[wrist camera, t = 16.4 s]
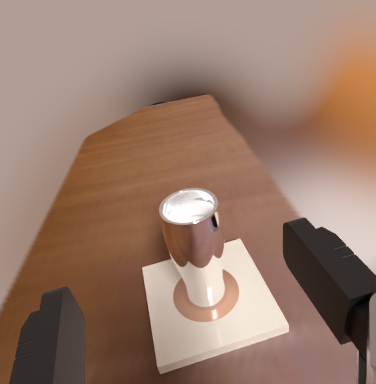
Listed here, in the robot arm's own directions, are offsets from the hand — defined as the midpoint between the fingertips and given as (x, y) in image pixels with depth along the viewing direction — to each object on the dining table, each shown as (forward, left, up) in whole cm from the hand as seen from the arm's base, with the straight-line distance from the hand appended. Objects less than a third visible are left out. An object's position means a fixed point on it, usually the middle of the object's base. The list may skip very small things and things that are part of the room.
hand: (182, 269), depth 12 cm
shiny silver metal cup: (+3, +20, -27) cm, 34 cm away
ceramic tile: (+3, +20, -29) cm, 35 cm away
